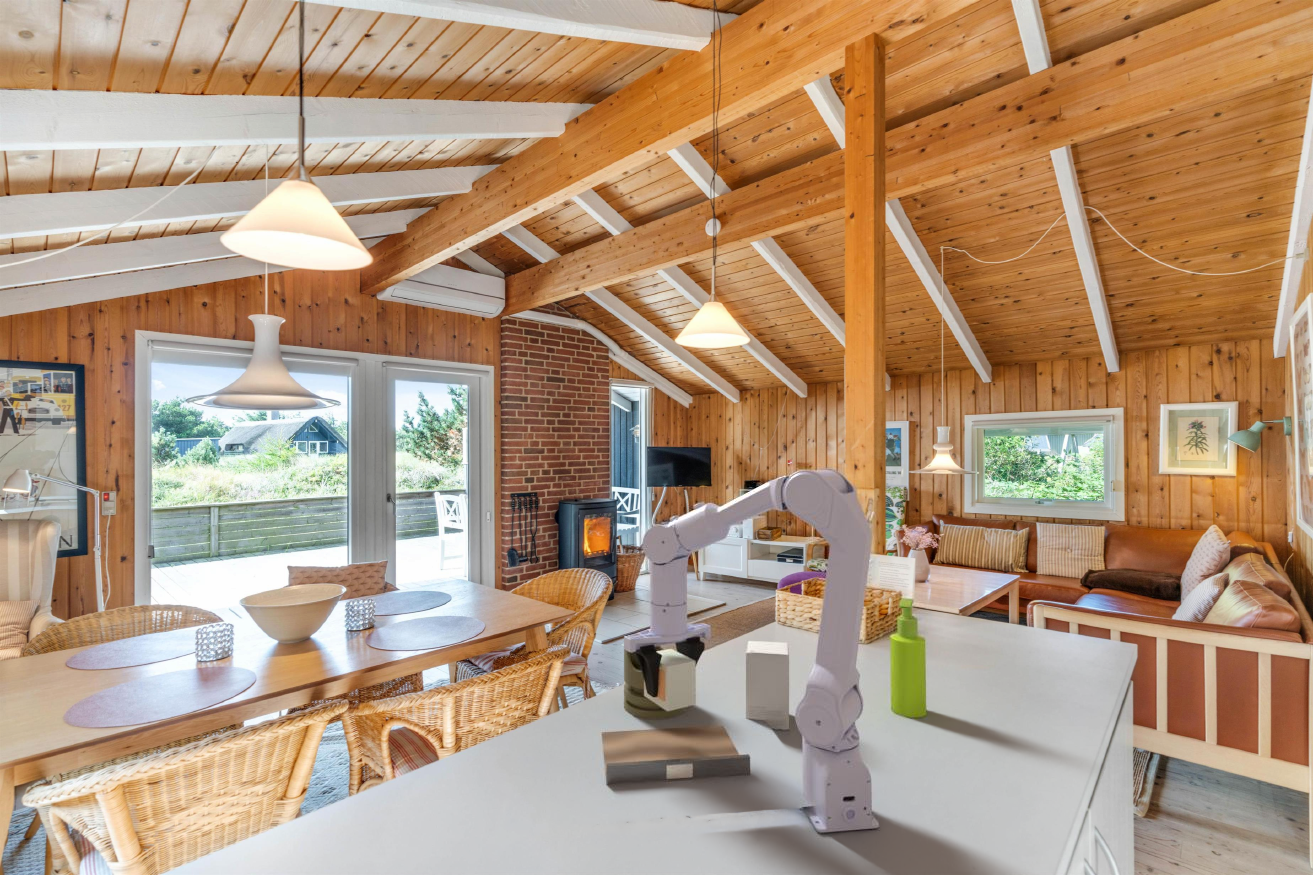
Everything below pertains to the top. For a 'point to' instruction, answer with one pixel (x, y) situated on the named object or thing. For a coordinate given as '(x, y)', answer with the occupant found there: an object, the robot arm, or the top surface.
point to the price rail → (677, 769)
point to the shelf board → (666, 744)
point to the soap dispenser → (908, 665)
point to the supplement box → (768, 683)
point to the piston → (641, 692)
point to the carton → (675, 681)
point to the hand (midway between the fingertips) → (668, 691)
